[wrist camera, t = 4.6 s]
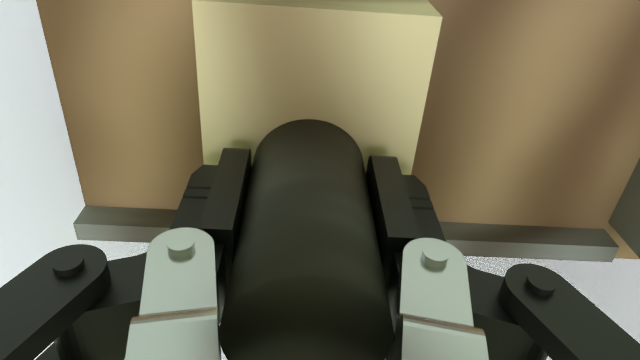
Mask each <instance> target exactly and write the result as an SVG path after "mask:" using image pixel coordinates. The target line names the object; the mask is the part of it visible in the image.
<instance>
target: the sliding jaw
mask: <svg viewBox="0 0 640 360" xmlns="http://www.w3.org/2000/svg"><path fill="white" fill-rule="evenodd" d="M192 11H193V25H194V39H195V52H196V66H197V80H198V93H199V107H200V121H201V134H202V148H203V162H204V165H218V163H219V160H220V157H221V154H222V150H223V148H242V149H251V156H252V169H251V174H250V179H249V184H248V189H247V194H246V199H245V204H244V209H243V214H242V219H241V224H240V229H239V234H238V239H237V244H236V249H235V254H234V259H233V263H232V268H231V273H230V278H229V283H228V288H227V293H226V298H225V303H224V308H223V313H222V318H221V323H220V328H219V340H220V345H221V348H222V350H223V353H224V354H225V356H226V358H227V359H228V360H385V358H386V357H387V355H388V354H389V352H390V350H391V347H392V344H393V338H394V329H393V322H392V317H391V311H390V306H389V300H388V295H387V289H386V283H385V278H384V272H383V267H382V261H381V256H380V250H379V245H378V239H377V234H376V228H375V222H374V217H373V211H372V206H371V200H370V195H369V189H368V184H367V178H366V171H367V164H368V159H369V156H370V155H374V156H393V157H397V159H398V162H399V166H400V169H401V172H402V175H411V172H412V167H413V162H414V157H415V152H416V147H417V142H418V137H419V132H420V127H421V122H422V117H423V112H424V107H425V102H426V97H427V92H428V87H429V82H430V77H431V72H432V67H433V62H434V57H435V52H436V47H437V42H438V37H439V32H440V27H441V22H442V16H441V15H440V13H439V12H438V11H437V10H436V9H435V8H434V7H433V6H432V5H431V4H430V2H429V1H428V0H192Z"/></svg>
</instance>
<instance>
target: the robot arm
mask: <svg viewBox="0 0 640 360" xmlns="http://www.w3.org/2000/svg"><path fill="white" fill-rule="evenodd" d="M251 169H252V156H251V149H242V148H223V150H222V154H221V157H220V160H219V163H218V165H204V164H203V165H202V166H201V167H199V168H198V169H197V170H196V171H195V172H193V173H192V174H191V176H190V179H189V181H188V184H187V188H186V189H185V191H184V194H183V198H182V199H181V202H180V204H179V207H178V209H177V212H176V214H175V217H174V219H173V222H172V224H171V227H170V229H169V230H168V231H166V232H164V233H161V234H160V235H158V236H157V237H156V238H154V239H153V240H152V242H151V243H150V244H149V246H148V249H147V252H146V253H143V254H140V255H137V256H133V257H128V258H122V259H117V260H111V261H107V258H106V255H105V254H104V252H103V251H102V250H100V249H99V248H97V247H95V246H91V245H85V244H77V245H70V246H65V247H62V248H59V249H56V250H53V251H52V252H50V253H48V254H46V255H45V256H43V257H42V258H40V259H39V260H38V261H36V262H35V263H33V264H32V265H31V266H29V267H28V268H27V269H25V270H24V271H23V272H21V273H20V274H18V275H17V276H16V277H14V278H13V279H12V280H10V281H9V282H8V283H6V284H5V285H3V286H2V287H1V288H0V360H34V359H35V358H36V357H37V356H38V355H39V354H40V353H41V352H42V351H43V350H44V349H45V348H47V347H48V346H49V345H50V344H51V343H52V342H53V341H54V343H53V344H52V345H51V346H50V347H49V348H48V349H47V350H45V351H44V352H43V353H42V354H41V355H40V356H39V357H38V358H37V359H36V360H124V359H125V360H221V345H220V340H219V328H220V322H221V318H222V313H223V308H224V303H225V298H226V293H227V288H228V283H229V278H230V273H231V268H232V263H233V259H234V254H235V249H236V244H237V239H238V234H239V229H240V224H241V219H242V214H243V209H244V204H245V199H246V194H247V189H248V184H249V179H250V174H251ZM366 178H367V184H368V189H369V195H370V200H371V206H372V211H373V217H374V222H375V228H376V234H377V239H378V245H379V250H380V256H381V261H382V267H383V272H384V278H385V283H386V289H387V295H388V300H389V306H390V311H391V317H392V322H393V329H394V338H393V344H392V347H391V350H390V352H389V354H388V355H387V357H386V358H385V360H546V358H547V357H548V356H549V357H550V358H551V359H552V360H640V344H639V343H638V342H637V341H636V340H635V339H633V338H632V337H631V336H630V335H629V334H628V333H626V332H625V331H624V330H623V329H622V328H621V327H619V326H618V325H617V324H616V323H615V322H614V321H612V320H611V319H610V318H609V317H608V316H607V315H606V314H604V313H603V312H602V311H601V310H600V309H599V308H597V307H596V306H595V305H594V304H593V303H592V302H590V301H589V300H588V299H587V298H586V297H585V296H583V295H582V294H581V293H580V292H579V291H578V290H576V289H575V288H574V287H573V286H572V285H571V284H570V283H568V282H567V281H566V280H565V279H564V278H562V277H561V276H560V275H558V274H557V273H555V272H554V271H552V270H550V269H547V268H545V267H542V266H539V265H534V264H517V265H514V266H512V267H511V268H509V269H508V270H507V272H506V275H505V277H502V276H498V275H494V274H490V273H487V272H483V271H480V270H477V269H474V268H472V267H470V266H468V265H467V264H466V260H465V258H464V256H463V254H462V253H461V252H460V251H459V250H458V249H457V248H456V247H454V246H453V245H451V244H449V243H447V242H446V240H445V237H444V234H443V232H442V229H441V226H440V223H439V221H438V218H437V215H436V212H435V210H434V207H433V204H432V201H431V200H430V196H429V193H428V191H427V188H426V186H425V185H424V184H423V183H422V182H421V181H420V180H419V179H418V178H417V177H416V176H415V175H402V172H401V169H400V166H399V162H398V159H397V157H393V156H374V155H370V156H369V159H368V164H367V171H366Z"/></svg>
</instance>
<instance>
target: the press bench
mask: <svg viewBox="0 0 640 360" xmlns="http://www.w3.org/2000/svg"><path fill="white" fill-rule="evenodd" d="M428 1H429V2H430V4H431V5H432V6H433V7H434V8H435V9H436V10H437V11H438V12H439V13H440V15H441V16H442V22H441V27H440V32H439V37H438V42H437V47H436V52H435V57H434V62H433V67H432V72H431V77H430V82H429V87H428V92H427V97H426V102H425V107H424V112H423V117H422V122H421V127H420V132H419V137H418V142H417V147H416V152H415V157H414V162H413V167H412V172H411V175H415V176H416V177H417V178H418V179H419V180H420V181H421V182H422V183H423V184H424V185H425V186H426V188H427V191H428V193H429V196H430V200H431V201H432V204H433V207H434V210H435V212H436V215H437V218H438V221H439V223H440V226H441V229H442V232H443V234H444V237H445V240H446V242H447V243H449V244H451V245H453V246H454V247H456V248H457V249H458V250H459V251H460V252H461V253H462V254H463V256H482V257H506V258H530V259H554V260H578V261H601V262H612V261H613V259H614V258H626V259H640V0H428ZM36 2H37V6H38V10H39V14H40V19H41V23H42V27H43V31H44V35H45V39H46V44H47V48H48V52H49V56H50V60H51V64H52V68H53V73H54V77H55V81H56V85H57V89H58V93H59V97H60V102H61V106H62V110H63V114H64V118H65V122H66V127H67V131H68V135H69V139H70V143H71V147H72V151H73V156H74V160H75V164H76V168H77V172H78V176H79V181H80V185H81V189H82V193H83V197H84V201H85V205H86V206H85V207H84V209H83V210H82V212H81V213H80V215H79V216H78V218H77V219H76V220H75V222H74V223H73V224H74V228H75V232H76V236H77V240H100V241H124V242H148V243H151V242H152V240H153V239H154V238H156V237H157V236H158V235H160V234H161V233H164V232H166V231H168V230H169V229H170V227H171V224H172V222H173V219H174V217H175V214H176V212H177V209H178V207H179V204H180V202H181V199H182V198H183V194H184V191H185V189H186V188H187V184H188V181H189V179H190V176H191V174H192V173H193V172H195V171H196V170H197V169H198V168H199V167H201V166H202V165H203V164H204V162H203V148H202V134H201V121H200V107H199V93H198V80H197V66H196V52H195V39H194V25H193V11H192V0H36Z"/></svg>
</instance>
